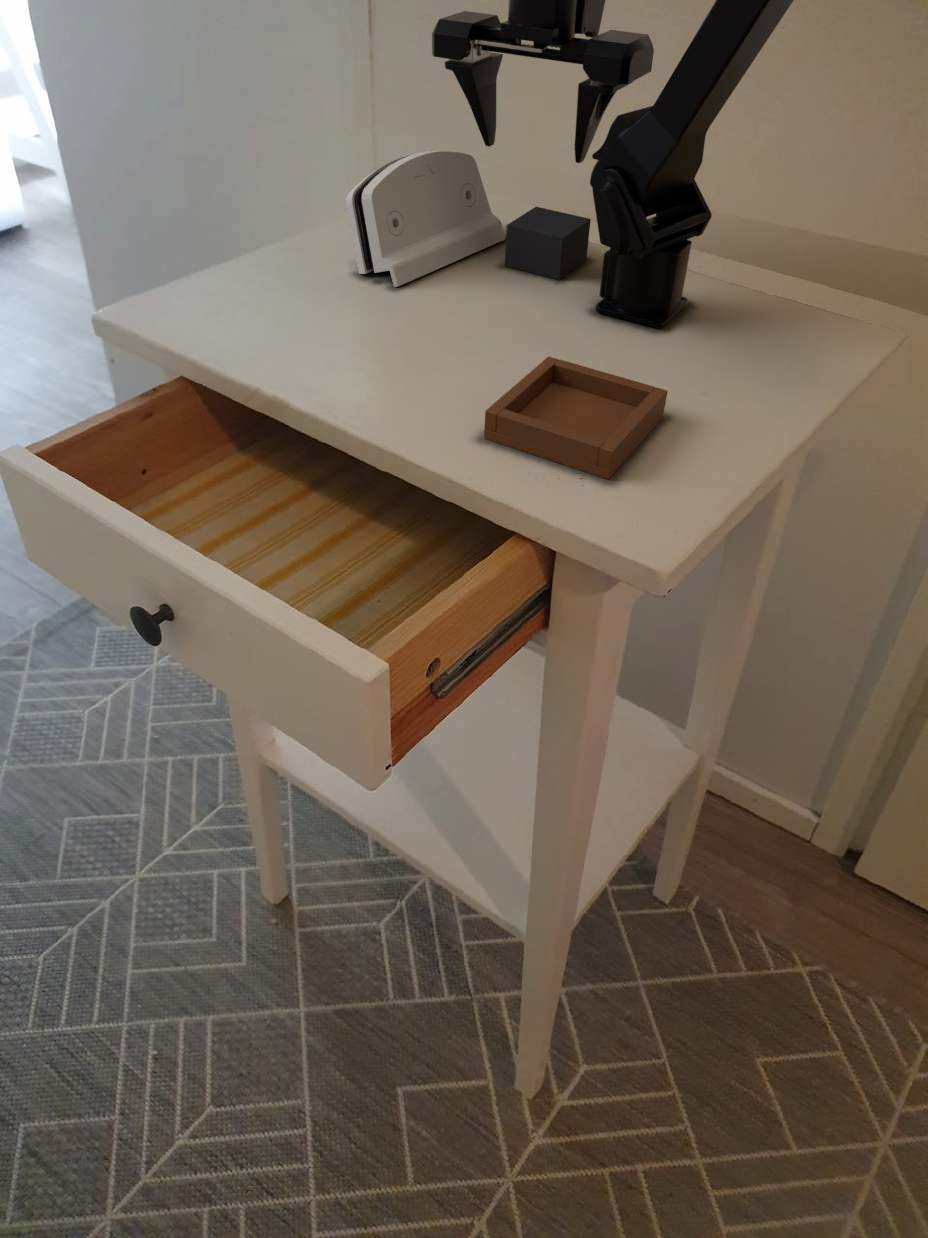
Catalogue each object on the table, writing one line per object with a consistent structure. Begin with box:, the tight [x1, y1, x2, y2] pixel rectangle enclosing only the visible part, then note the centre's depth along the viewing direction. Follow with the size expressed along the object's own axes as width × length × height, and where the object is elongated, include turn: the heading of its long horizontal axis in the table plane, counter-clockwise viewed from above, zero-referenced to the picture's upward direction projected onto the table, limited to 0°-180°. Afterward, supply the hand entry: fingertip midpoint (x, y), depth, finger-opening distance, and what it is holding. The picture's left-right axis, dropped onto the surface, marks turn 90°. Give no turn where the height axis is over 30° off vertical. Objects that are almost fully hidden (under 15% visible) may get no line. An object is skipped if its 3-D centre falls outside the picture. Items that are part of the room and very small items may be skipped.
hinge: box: [345, 150, 506, 288], centre depth 94 cm, size 17×5×10 cm, turn 140°
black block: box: [504, 206, 591, 281], centre depth 94 cm, size 6×6×4 cm
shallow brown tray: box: [483, 356, 669, 480], centre depth 71 cm, size 10×10×2 cm
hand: (534, 153), depth 89 cm, fingers open, 9 cm apart
